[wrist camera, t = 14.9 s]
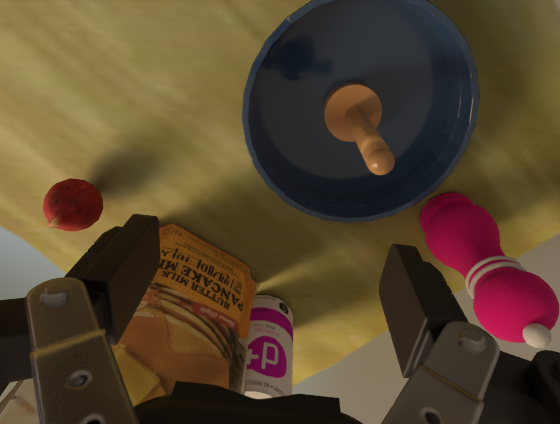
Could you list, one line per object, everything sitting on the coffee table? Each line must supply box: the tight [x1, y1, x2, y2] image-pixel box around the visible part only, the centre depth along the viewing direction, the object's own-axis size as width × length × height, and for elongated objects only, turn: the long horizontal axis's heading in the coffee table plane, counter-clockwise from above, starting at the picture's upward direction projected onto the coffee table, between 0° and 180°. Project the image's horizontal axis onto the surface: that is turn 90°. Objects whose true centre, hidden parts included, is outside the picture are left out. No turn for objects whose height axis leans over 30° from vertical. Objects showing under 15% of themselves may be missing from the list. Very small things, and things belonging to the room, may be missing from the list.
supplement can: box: [245, 295, 293, 399], centre depth 46 cm, size 8×8×15 cm
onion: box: [43, 178, 103, 231], centre depth 42 cm, size 6×6×8 cm
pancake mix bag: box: [0, 223, 260, 424], centre depth 37 cm, size 7×19×28 cm, turn 56°
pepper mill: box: [420, 193, 559, 348], centre depth 36 cm, size 7×7×20 cm
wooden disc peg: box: [323, 81, 395, 175], centre depth 31 cm, size 6×6×17 cm
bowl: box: [242, 0, 480, 223], centre depth 37 cm, size 21×21×6 cm
